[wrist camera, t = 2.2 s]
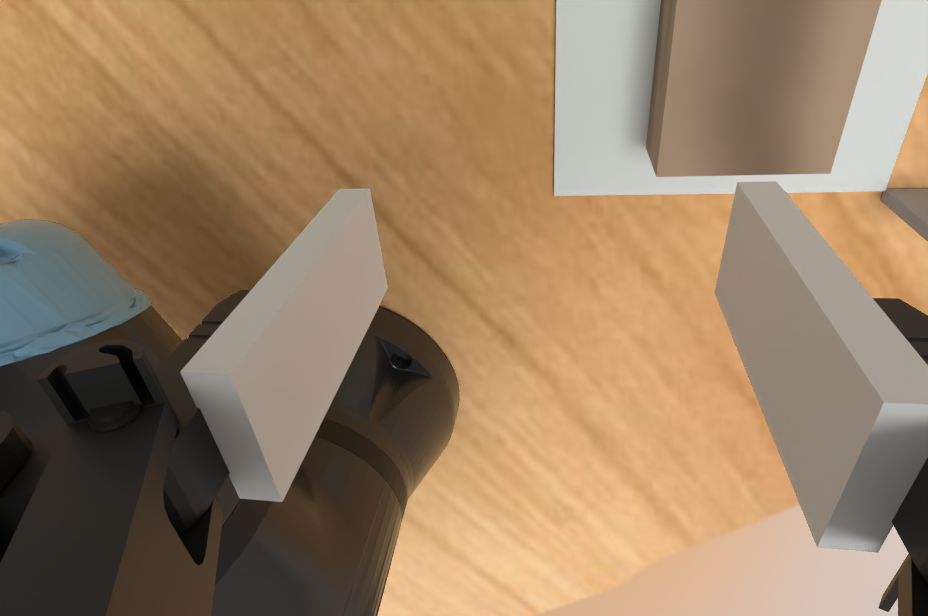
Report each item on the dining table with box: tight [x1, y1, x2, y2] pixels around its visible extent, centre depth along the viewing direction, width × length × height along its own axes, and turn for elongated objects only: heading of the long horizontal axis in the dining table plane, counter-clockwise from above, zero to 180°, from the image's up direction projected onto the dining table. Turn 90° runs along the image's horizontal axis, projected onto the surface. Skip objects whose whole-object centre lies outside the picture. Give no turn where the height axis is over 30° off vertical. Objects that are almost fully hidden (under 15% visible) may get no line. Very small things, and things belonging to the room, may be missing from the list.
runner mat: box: [554, 0, 928, 196], centre depth 25 cm, size 16×12×1 cm
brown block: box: [646, 0, 882, 177], centre depth 24 cm, size 7×7×4 cm
